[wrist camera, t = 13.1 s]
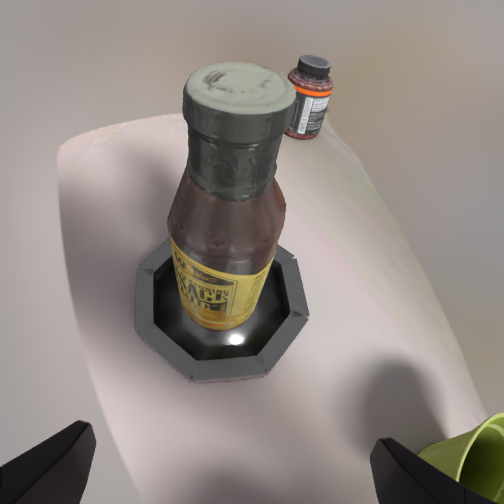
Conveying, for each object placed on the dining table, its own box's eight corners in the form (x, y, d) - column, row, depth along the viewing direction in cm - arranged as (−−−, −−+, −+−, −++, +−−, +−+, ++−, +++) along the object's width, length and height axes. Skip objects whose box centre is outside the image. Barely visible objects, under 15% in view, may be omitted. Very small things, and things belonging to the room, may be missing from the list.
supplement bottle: (271, 119, 43) (283, 50, 33) (306, 116, 44) (322, 52, 35) (289, 143, 40) (306, 69, 30) (326, 139, 41) (347, 71, 32)
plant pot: (459, 412, 22) (522, 394, 15) (470, 489, 18) (532, 488, 10) (385, 446, 21) (447, 443, 14) (397, 531, 16) (456, 550, 9)
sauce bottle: (168, 296, 26) (114, 74, 10) (224, 257, 29) (238, 39, 12) (216, 354, 24) (215, 153, 7) (272, 308, 27) (353, 96, 10)
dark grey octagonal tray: (312, 370, 24) (320, 365, 23) (142, 386, 22) (135, 381, 20) (283, 232, 32) (287, 218, 30) (143, 240, 30) (139, 227, 28)
